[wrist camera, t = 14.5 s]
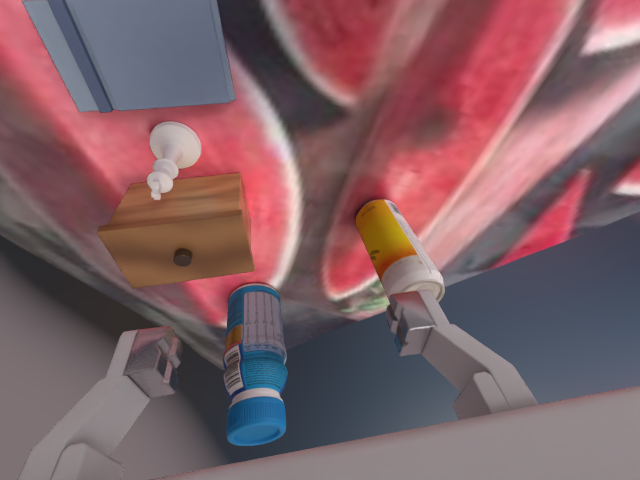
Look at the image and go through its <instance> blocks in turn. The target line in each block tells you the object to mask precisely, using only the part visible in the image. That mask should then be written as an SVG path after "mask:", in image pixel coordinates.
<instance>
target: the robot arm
mask: <svg viewBox="0 0 640 480" xmlns="http://www.w3.org/2000/svg"><path fill="white" fill-rule="evenodd" d="M389 302H390V305H389V306H388V307H387V311H386V315H387V321H388V325H389V328H390V330H391V331H392V332H393V333H395V334H396V335H395V339H394V341H395V344H396V346H397V349H398V352H399V354H400V356H404V355H412V354H419V353H422V356H424V357H425V358H426V359H427V360H428V361H429V362H430V363H431V364H432V365H433V366H434V367H435V368H436V369H437V370H438V371H439V372H440V373H442V375H444V376H445V377H446V378H447V379H448V380H449V381H450V382H451V383H452V384H453V385H454V386H455V387H456V388H457V389H458V390H459V391H460V392H461V393H460V394H459V395H458V397H457V398H456V400H455V401H454V403H453V408H454V410H455V412H456V414H457V417H458V419H459V420H457V421H451V422H447V423H441V424H436V425H431V426H426V427H420V428H415V429H410V430H405V431H400V432H395V433H389V434H384V435H379V436H374V437H369V438H363V439H358V440H353V441H348V442H343V443H337V444H332V445H327V446H322V447H317V448H312V449H307V450H301V451H297V452H291V453H286V454H280V455H276V456H270V457H265V458H260V459H255V460H250V461H245V462H240V463H234V464H229V465H224V466H219V467H213V468H208V469H203V470H198V471H192V472H187V473H182V474H177V475H172V476H166V477H162V478H156V479H151V480H640V386H636V387H628V388H622V389H617V390H612V391H607V392H602V393H597V394H591V395H587V396H581V397H576V398H571V399H566V400H560V401H555V402H550V403H545V404H540V405H539V404H538V403H537V401H536V400H535V398H534V396H533V395H532V393H531V392H530V390H529V389H528V387H527V386H526V384H525V383H524V381H523V380H522V378H521V376H520V375H519V373H518V372H517V370H516V369H515V368H514V366H513V365H512V364H510V363H509V362H507V361H506V360H504V359H503V358H502V357H500V356H499V355H497V354H496V353H494V352H493V351H492V350H490V349H489V348H487V347H486V346H484V345H483V344H481V343H480V342H478V341H477V340H476V339H474V338H473V337H471V336H470V335H469V334H467V333H466V332H464V331H463V330H461V329H460V328H458V327H457V326H456V325H454V324H453V325H450V324H449V322H448V320H447V318H446V316H445V315H444V313H443V311H442V309H441V307H440V306H439V304H438V302H437V300H436V298H435V297H434V295H433V293H432V291H431V290H429V289H423V290H417V291H415V290H414V291H408V292H402V293H395V294H391V295H390V297H389ZM173 334H174V330H173V328H172V327H171V326H165V327H157V328H149V329H142V330H133V331H126V332H123V334H122V335H121V336H120V339H119V341H118V344H117V347H116V349H115V352H114V355H113V357H112V360H111V363H110V366H109V368H108V371H107V374H106V376H105V379H100V380H99V381H98V382H97V383H96V384H95V385H94V386H93V387H92V388H91V389H90V390H89V391H88V392H87V394H85V395H84V396H83V397H82V398H81V399H80V400H79V402H77V403H76V404H75V406H73V408H72V409H71V410H70V411H69V412H68V413H67V414H66V415H65V416H64V417H63V418H62V419H61V420H60V421H59V422H58V423H57V424H56V425H55V426H54V427H53V428H52V429H51V430H50V431H49V432H48V433H47V434H46V435H45V436H44V437H43V438H42V439H41V440H40V441H39V442H38V443H37V444H36V445H35V446H34V447H33V449H31V450H30V452H29V455H28V457H27V459H26V461H25V463H24V465H23V467H22V470H21V472H20V474H19V476H18V478H17V480H121V477H122V473H123V469H124V466H123V465H122V464H121V463H120V462H118V461H117V460H114V459H113V458H111V457H110V456H111V455H112V453H113V452H114V450H115V449H116V448H117V446H118V445H119V443H120V442H121V440H122V439H123V437H124V436H125V435H126V433H127V432H128V430H129V429H130V427H131V426H132V425H133V423H134V422H135V421H136V419H137V418H138V416H139V415H140V413H141V412H142V411H143V409H144V407H145V406H146V405H147V403H148V402H149V400H150V398H153V397H158V396H163V395H169V394H174V393H175V391H176V385H177V380H178V373H177V372H176V370H175V369H176V368H177V366H178V365H179V364H180V363H181V359H182V344H181V341H180V339H179V338H178V337H176V336H174V335H173Z"/></svg>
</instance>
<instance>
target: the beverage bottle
mask: <svg viewBox="0 0 640 480" xmlns="http://www.w3.org/2000/svg"><path fill="white" fill-rule="evenodd" d="M285 362H286V348H285V346H284V336H283V327H282V318H281V308H280V297H279V294H278V292H277V291H276V290H275V289H274V288H272V287H271V286H268V285H266V284H261V283H252V284H246V285H243V286H241V287H239V288H237V289H236V290H234V291H233V292H232V294H231V295H230V297H229V300H228V319H227V333H226V346H225V353H224V358H223V363H224V368H225V370H226V372H225V374H224V378H223V383H224V388H225V391H226V393H227V396H228V397H229V399H230V401H231V402H232V404H231V405H230V407H229V410H228V416H227V439H228V441H229V442H230V443H232V444H235V445H240V446H252V445H260V444H264V443H268V442H271V441H273V440H276V439H277V438H279V437H281V436H282V435H283V434H284V432H285V430H286V417H285V407H284V403H283V400H282V399H281V398H280V396H281V394H282V392H283V389H284V387H285V384H286V380H287V369H286V367H285V365H284V364H285Z"/></svg>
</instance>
